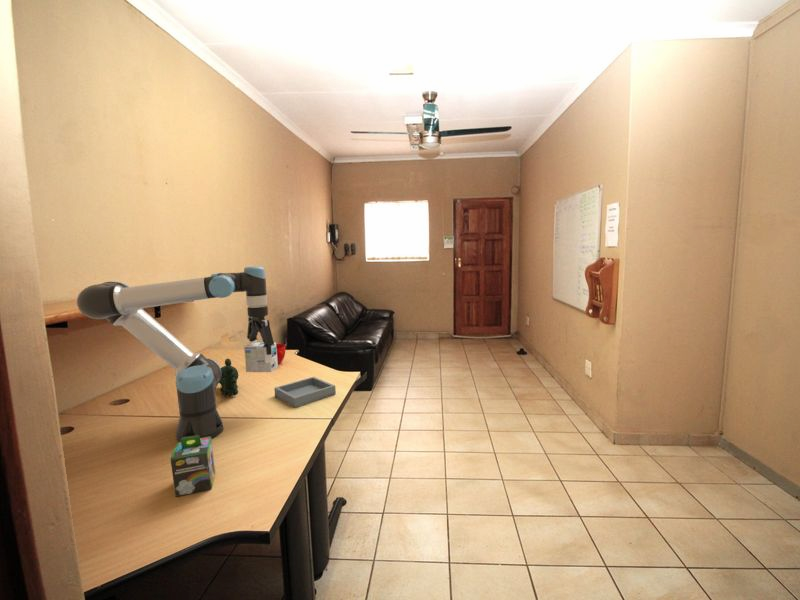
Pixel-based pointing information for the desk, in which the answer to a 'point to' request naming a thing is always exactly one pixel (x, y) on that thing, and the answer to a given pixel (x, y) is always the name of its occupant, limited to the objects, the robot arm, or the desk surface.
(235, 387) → the toy figurine
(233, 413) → the desk surface
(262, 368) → the light bulb box
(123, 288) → the robot arm
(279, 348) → the ceramic cup
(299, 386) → the gray tray
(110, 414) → the desk surface
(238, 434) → the desk surface
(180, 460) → the chalk box
